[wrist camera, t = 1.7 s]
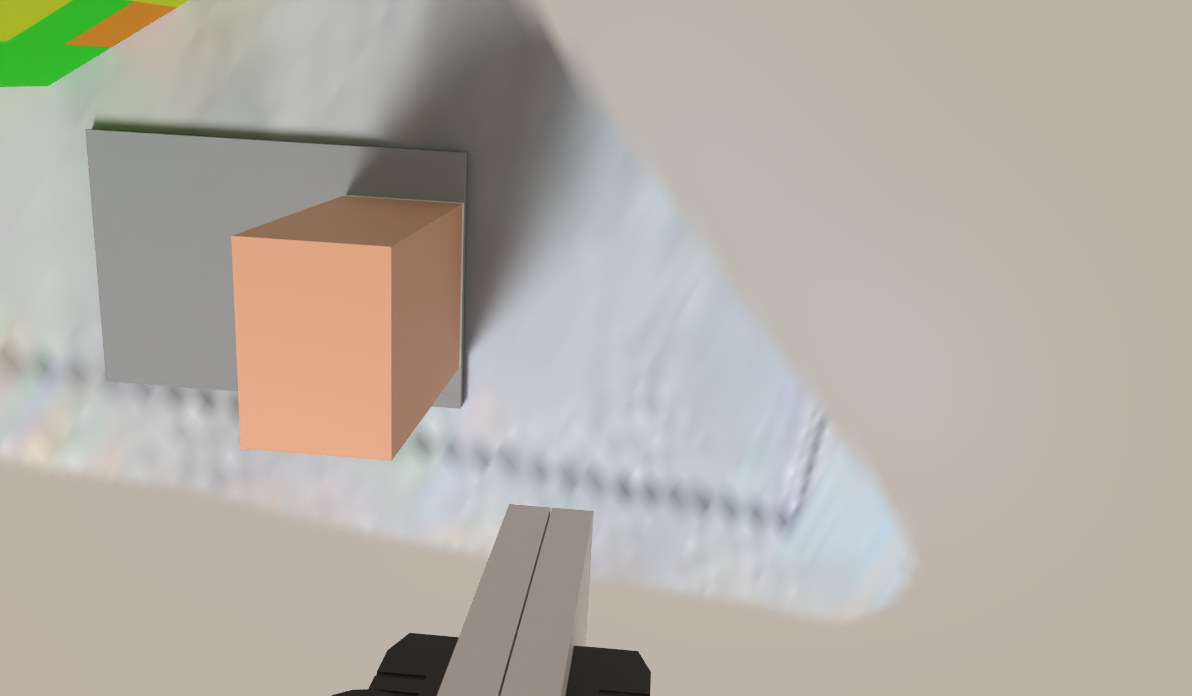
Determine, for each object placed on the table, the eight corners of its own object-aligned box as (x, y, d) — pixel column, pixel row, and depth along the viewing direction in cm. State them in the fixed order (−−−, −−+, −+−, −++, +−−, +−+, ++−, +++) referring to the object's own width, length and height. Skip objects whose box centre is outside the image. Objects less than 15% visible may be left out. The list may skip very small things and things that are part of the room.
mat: (91, 129, 41) (85, 129, 41) (467, 152, 40) (465, 153, 40) (111, 378, 44) (106, 381, 44) (462, 405, 43) (460, 408, 43)
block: (345, 194, 41) (231, 235, 30) (464, 202, 41) (391, 246, 30) (347, 356, 43) (240, 448, 32) (461, 364, 42) (391, 460, 32)
